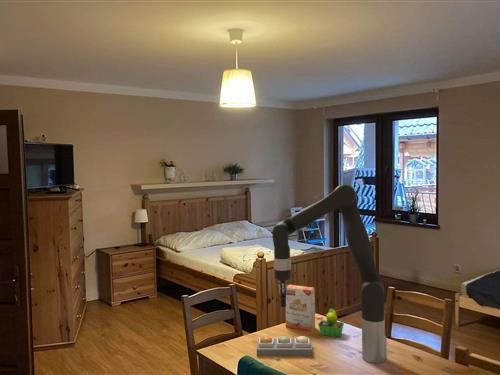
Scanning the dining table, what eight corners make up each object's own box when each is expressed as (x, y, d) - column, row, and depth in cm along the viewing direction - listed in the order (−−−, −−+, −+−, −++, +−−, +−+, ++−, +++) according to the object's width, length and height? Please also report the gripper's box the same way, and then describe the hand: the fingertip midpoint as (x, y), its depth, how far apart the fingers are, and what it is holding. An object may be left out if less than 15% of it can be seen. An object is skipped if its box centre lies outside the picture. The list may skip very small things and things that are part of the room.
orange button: (271, 340, 199) (271, 336, 199) (271, 344, 195) (270, 339, 195) (261, 340, 200) (261, 336, 199) (261, 344, 195) (260, 339, 195)
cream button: (306, 340, 198) (306, 336, 198) (307, 344, 194) (307, 340, 194) (297, 340, 199) (296, 336, 198) (297, 344, 194) (297, 340, 194)
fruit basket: (317, 335, 213) (317, 312, 213) (322, 329, 222) (321, 306, 221) (341, 338, 209) (341, 315, 208) (345, 332, 217) (344, 309, 217)
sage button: (288, 340, 199) (288, 336, 199) (289, 344, 194) (289, 340, 194) (279, 340, 199) (279, 336, 199) (279, 344, 195) (279, 340, 195)
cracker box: (285, 327, 225) (284, 287, 224) (289, 323, 230) (289, 284, 229) (311, 331, 218) (310, 290, 217) (315, 327, 223) (314, 286, 222)
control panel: (310, 345, 202) (310, 335, 202) (312, 356, 190) (312, 346, 190) (257, 344, 204) (257, 335, 203) (256, 356, 192) (256, 345, 191)
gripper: (291, 271, 188) (292, 311, 189) (290, 264, 201) (291, 301, 202) (273, 271, 189) (274, 311, 190) (274, 264, 202) (275, 302, 203)
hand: (283, 306), depth 196 cm, fingers closed
